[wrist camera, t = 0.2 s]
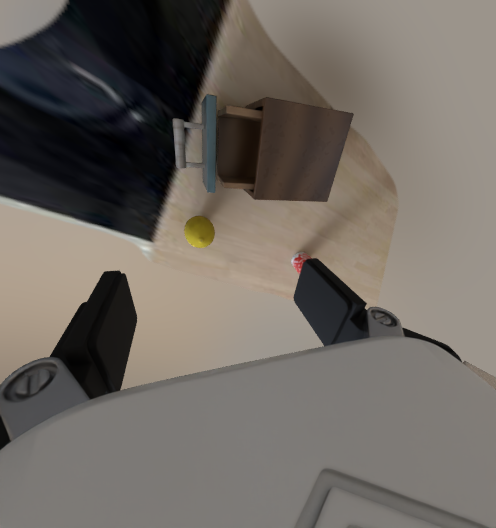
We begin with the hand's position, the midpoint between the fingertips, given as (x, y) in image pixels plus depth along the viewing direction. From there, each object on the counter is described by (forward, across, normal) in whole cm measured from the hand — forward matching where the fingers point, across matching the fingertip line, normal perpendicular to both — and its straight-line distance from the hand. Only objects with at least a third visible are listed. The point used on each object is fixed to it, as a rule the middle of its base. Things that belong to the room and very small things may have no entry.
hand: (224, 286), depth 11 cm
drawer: (+31, -6, -6) cm, 32 cm away
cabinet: (+32, -16, -6) cm, 36 cm away
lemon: (+32, 0, +8) cm, 33 cm away
